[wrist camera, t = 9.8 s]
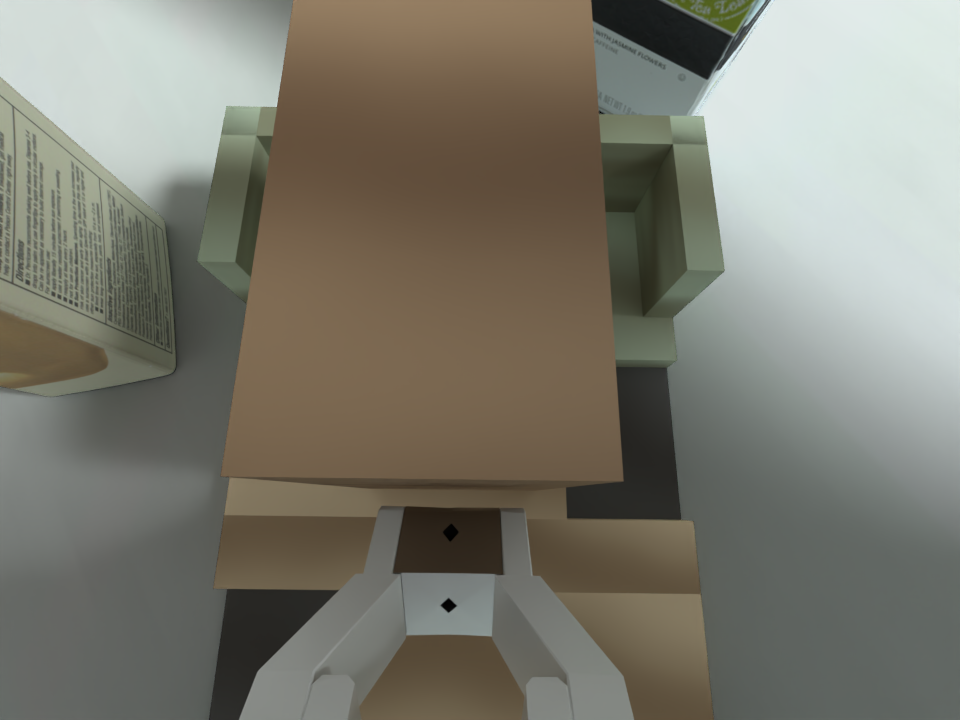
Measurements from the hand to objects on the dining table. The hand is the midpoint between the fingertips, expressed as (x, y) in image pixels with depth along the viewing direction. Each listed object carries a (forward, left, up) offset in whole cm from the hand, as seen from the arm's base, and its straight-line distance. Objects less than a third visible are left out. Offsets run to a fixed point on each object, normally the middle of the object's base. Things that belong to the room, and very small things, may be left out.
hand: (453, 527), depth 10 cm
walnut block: (-4, -3, -4) cm, 7 cm away
